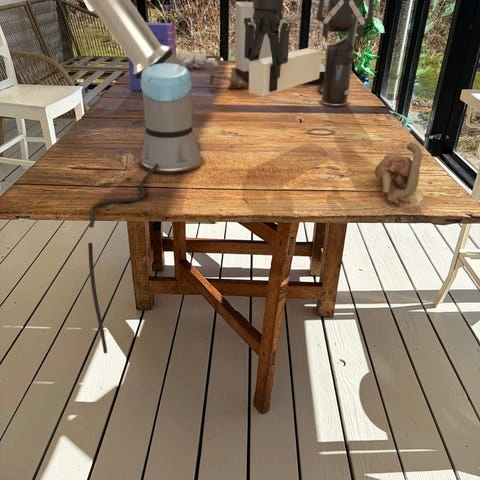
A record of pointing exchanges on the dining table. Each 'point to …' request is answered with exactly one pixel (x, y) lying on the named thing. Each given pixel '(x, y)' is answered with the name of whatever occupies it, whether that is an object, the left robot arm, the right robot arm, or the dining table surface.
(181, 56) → the toy
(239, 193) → the dining table surface
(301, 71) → the bar
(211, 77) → the figurine
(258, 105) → the dining table surface
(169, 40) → the cereal box
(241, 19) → the white tapered box
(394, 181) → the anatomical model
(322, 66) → the disc drive
